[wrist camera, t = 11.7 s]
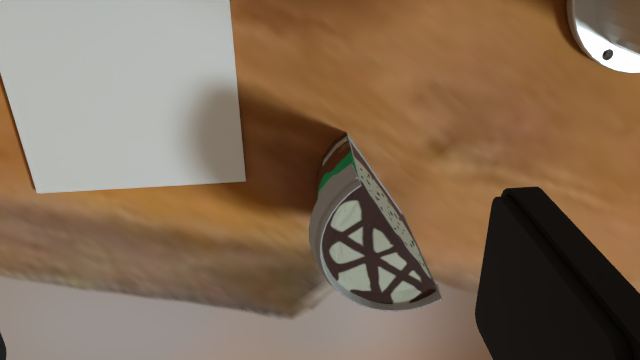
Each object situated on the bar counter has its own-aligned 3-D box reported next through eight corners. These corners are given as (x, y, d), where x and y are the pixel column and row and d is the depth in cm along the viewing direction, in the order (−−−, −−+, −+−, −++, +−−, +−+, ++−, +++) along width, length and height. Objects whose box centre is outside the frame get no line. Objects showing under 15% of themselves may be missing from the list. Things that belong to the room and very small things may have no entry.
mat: (226, -36, 35) (225, -35, 35) (245, 179, 43) (245, 181, 42) (-28, -29, 34) (-31, -28, 34) (39, 190, 42) (37, 193, 41)
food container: (271, 159, 42) (272, 229, 33) (336, 117, 41) (356, 178, 32) (352, 261, 48) (371, 344, 39) (412, 226, 46) (446, 303, 38)
